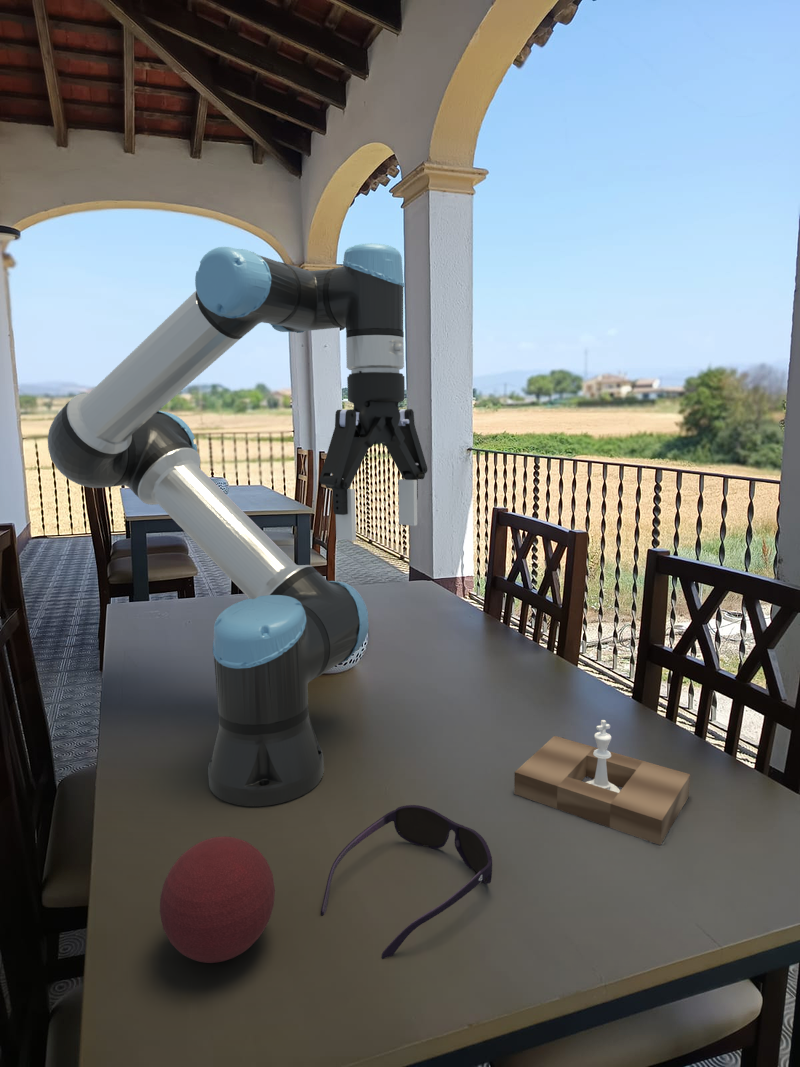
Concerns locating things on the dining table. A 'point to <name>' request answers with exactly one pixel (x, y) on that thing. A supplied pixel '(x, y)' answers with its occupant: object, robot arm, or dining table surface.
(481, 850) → the sunglasses
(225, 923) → the decorative ball
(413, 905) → the dining table surface
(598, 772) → the chess piece
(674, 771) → the socket plate
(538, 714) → the dining table surface
